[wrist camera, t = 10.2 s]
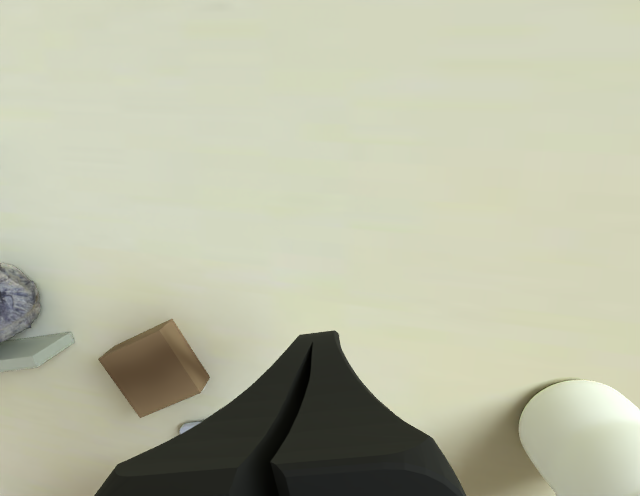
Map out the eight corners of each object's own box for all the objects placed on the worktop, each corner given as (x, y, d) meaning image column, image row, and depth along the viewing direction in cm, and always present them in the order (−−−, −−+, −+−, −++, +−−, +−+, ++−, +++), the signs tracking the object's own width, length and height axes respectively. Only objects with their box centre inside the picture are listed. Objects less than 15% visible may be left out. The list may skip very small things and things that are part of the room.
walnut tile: (211, 374, 24) (200, 392, 22) (156, 398, 25) (140, 418, 23) (174, 316, 23) (159, 330, 21) (118, 343, 24) (98, 359, 22)
